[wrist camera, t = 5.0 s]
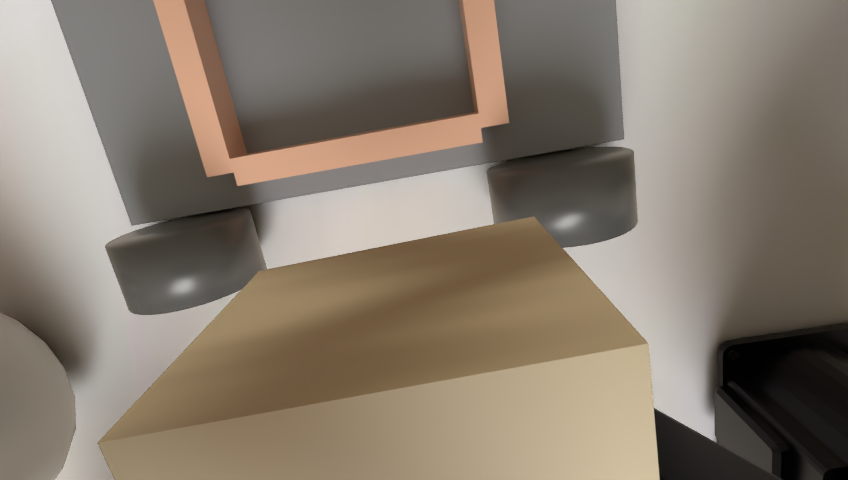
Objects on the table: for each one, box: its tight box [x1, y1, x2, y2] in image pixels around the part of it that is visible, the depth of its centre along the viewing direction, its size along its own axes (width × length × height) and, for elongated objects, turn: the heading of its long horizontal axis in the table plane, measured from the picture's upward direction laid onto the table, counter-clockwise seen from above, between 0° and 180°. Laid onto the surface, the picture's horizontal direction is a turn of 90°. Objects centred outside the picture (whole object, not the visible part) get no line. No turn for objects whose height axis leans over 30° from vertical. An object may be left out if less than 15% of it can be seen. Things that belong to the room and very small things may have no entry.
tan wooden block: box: [98, 217, 660, 480], centre depth 7 cm, size 5×6×4 cm
